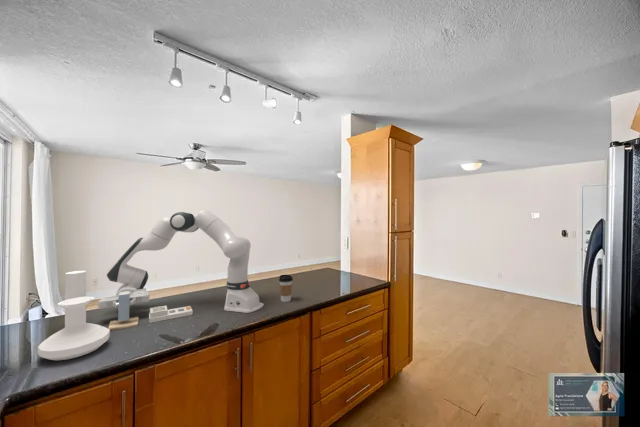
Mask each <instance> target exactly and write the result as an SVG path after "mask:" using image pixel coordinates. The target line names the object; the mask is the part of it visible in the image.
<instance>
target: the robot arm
mask: <svg viewBox="0 0 640 427" xmlns="http://www.w3.org/2000/svg"><path fill="white" fill-rule="evenodd" d="M199 229H200V230H201V231H202V232H204V233H205V234H206V235H207V236H208V237H209V238H211V239H212V240H213V241H214V242H215V243H216V244H217V245H218V246H219V248H220V249H221V251H223V255H224V256H225V257H226V258H229V262H228V266H227V280H226V290H227V291H226V297H225V302H224V306H223V307H224V308H223V310H224V311H227V312H237V313H244V314H245V313H246V314H247V313H253V312H256V311H258V310H260V309H262V308H263V307H264V306H265V305H264V303H263V302H261V301H260V297H259V295H258V293H257V292H255V290H254V289H253V288H251V286H250V285H251V284H252V282H250V280H248V275H249V274H248V272H249V271H248V268H249V259H250V252H251V246H252V245H251V242H250V240H249V239H248V238H247V237H244V236H237V235H236V234H235V233H234V232H233V231H232V229H231V227H230V226H228V225H227V224H226V223H225V222H224V221H223V220H221V219H220V218H219V216H217V215H216V214H214V213H213V212H212V211H209V210H207V209H202V210H200V211H198V212H197V213H196V214H192V213H190V212H184V211H180V212H175V213H174V214H172V215H171V216H163V217H161V218H160V220H158V222H157V223H156V224H155V225H154V227H153V228H152V229H151V231H150V232H149V234H147V235H146V236H144V237H139V238H138V239H137V240H135V242H134V243H133V244H132V245H130V247H129V248H128V249H127V250H126V251H125V252H124V254H123V255H122V256H121V257H119V259H118V260H117V261H115V263H114V264H113V265H111V266H110V268H109V269H108V271H107V273H106V277H107V278H108V280H109V281H110V282H115V283H120V284H122V285H120V286H119V288H118V289H117V291H116V294H115V295H110V296H105V297H104V296H103V297H102V298H100V299H99V300H98V302H97V308H98V309H106V308H107V309H108V308H118V297H119V293H121V292H129V291H130V301H129V305H130V306H133V305H134V304H141V303H147V302H150V292H149V291H148V290H147V289H146V288H145V286H146V284H147V282H148V280H149V273H148V271H147V270H145V269H141V268H138V267H135V266H132V265H130V264H128V262H130V261H131V259H132V258H133V257H134V255H135V254H137V253H138V252H142V251H153V252H155V251H161V250H163V249H165V248H166V247H168V245H169V244H170V242H172V239H173V237H174V236H175V235H176V233H177V232H182V233H194V232H196V231H198V230H199Z"/></svg>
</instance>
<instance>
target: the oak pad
mask: <svg viewBox="0 0 640 427" xmlns="http://www.w3.org/2000/svg"><path fill="white" fill-rule="evenodd" d="M108 325H109V326H108V327H107V328H108V329H110V332H113V331H118V330H123V329H129V328H134V327H138V326H139V315H138V316H132V317H129V320H123V321H118V319H114V320H110V322H109V324H108Z"/></svg>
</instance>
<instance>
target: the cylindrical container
mask: <svg viewBox="0 0 640 427" xmlns="http://www.w3.org/2000/svg"><path fill="white" fill-rule="evenodd" d="M64 277H65V282H64V284H65V285H64V286H65V289H64V292H65V293H64V297H65V298H64V300H68V299H72V298H78V297H87V271H86V270H75V271H69V272H67V271H66V272H65V276H64ZM66 316H67V308H64V328H65V327H66Z"/></svg>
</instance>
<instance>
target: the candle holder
mask: <svg viewBox="0 0 640 427" xmlns="http://www.w3.org/2000/svg"><path fill="white" fill-rule="evenodd" d="M94 299H95V296H86V297H78V298H72V299H68V300H65V299H64V300H62V301H60V302H58V303H57V305H58V306H60V307H63V308H64V309H65V308H67V316H66V327H65V326H64V327H63V328H62V329H60V330H58V331H57V332H55V333H53V334H52V335H50V336H48V337H47V338H46V339H45V340H43V341H42V342H41V343H40V344H39V345H38V346H37V355H38V356H39V357H40V358H43V359H46V360H51V361H57V362H58V361H63V360H64V361H66V360H71V359H75V358H79V357H82V356H84V355H88V354H90V353H92V352H94V351H96V350H98V349H99V348H100V347H101V346H102V345H104V343H106V342H107V341H109V339H110V336H111V331H110V329H108V327H106V326H103V325H101V324H95V323H92V322H91V323H90V322H87V305H88V304H90V303H91V302H92V301H93V300H94Z"/></svg>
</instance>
